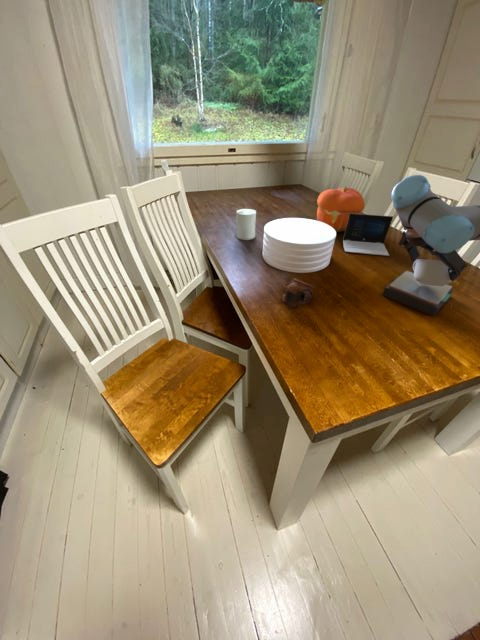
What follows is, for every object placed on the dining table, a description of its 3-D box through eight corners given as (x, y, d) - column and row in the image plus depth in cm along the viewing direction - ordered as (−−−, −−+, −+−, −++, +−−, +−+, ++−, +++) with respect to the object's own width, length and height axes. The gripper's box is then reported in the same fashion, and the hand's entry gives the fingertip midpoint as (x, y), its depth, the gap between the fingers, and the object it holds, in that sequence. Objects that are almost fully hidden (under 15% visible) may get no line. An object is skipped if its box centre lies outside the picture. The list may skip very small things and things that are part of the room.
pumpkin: (330, 240, 128) (341, 195, 116) (304, 224, 144) (310, 183, 132) (368, 233, 135) (381, 190, 123) (338, 219, 152) (348, 179, 139)
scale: (450, 297, 91) (456, 287, 89) (434, 317, 83) (441, 306, 80) (401, 278, 101) (405, 269, 98) (382, 295, 92) (386, 285, 89)
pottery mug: (275, 297, 91) (285, 274, 89) (297, 304, 95) (307, 282, 93) (293, 309, 81) (304, 283, 79) (317, 317, 85) (328, 292, 83)
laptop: (344, 252, 118) (352, 222, 110) (342, 241, 127) (349, 213, 119) (388, 257, 115) (400, 226, 107) (383, 245, 125) (393, 216, 116)
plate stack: (296, 238, 130) (300, 213, 122) (344, 260, 112) (351, 233, 104) (249, 252, 117) (250, 225, 110) (294, 280, 99) (298, 250, 92)
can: (233, 234, 133) (233, 208, 125) (250, 231, 136) (250, 206, 129) (241, 241, 126) (241, 214, 119) (258, 238, 130) (260, 212, 122)
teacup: (459, 289, 81) (468, 262, 79) (422, 284, 81) (431, 257, 79) (429, 284, 95) (436, 261, 93) (398, 280, 95) (404, 256, 93)
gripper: (374, 222, 82) (393, 259, 96) (455, 257, 64) (463, 296, 78) (394, 202, 80) (410, 242, 94) (482, 232, 62) (485, 276, 76)
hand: (434, 267), depth 86 cm, fingers closed on teacup, 13 cm apart
